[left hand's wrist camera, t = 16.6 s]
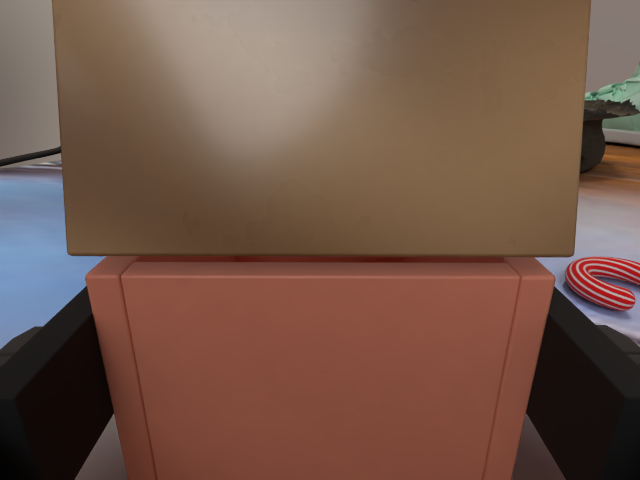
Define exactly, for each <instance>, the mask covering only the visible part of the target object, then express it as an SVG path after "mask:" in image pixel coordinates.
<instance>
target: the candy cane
mask: <svg viewBox="0 0 640 480" xmlns="http://www.w3.org/2000/svg"><path fill="white" fill-rule="evenodd" d="M595 277H605V278H613V279H619V280H623V281H627V282H630V283H633V284H636V285H639V286H640V263H638V262H634V261H630V260H626V259H620V258H613V257H585V258H581V259H578V260H575V261H573V262H572V263H571V264H569V266H568V267H567V269H566V271H565V278H566V281H567V283H568V285H569V286H570V288H571V289H572V290H574V291H575V292H576V293H577V294H579V295H580V296H582V297H583V298H585V299H587V300H589V301H591V302H593V303H596V304H598V305H601V306H604V307H607V308H610V309H614V310H618V311H626V310H629V309H631V308H632V307H633V306H634V304H635V296H634V294H633V293H632V292H631V291H630V290H629V289H627V288H624V287H620V286H616V285H613V284H609V283H607V282H604V281H601V280H599V279H597V278H595Z"/></svg>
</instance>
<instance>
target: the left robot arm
mask: <svg viewBox="0 0 640 480" xmlns="http://www.w3.org/2000/svg"><path fill="white" fill-rule="evenodd" d="M58 153H61V146H60V147H58V148H55V149H50V150H45V151H40V152H36V153H31V154H25V155H21V156H15V157H11V158H6V159H2V160H0V166H5V165H9V164H13V163H18V162H22V161H26V160H31V159H36V158H41V157H46V156H50V155H54V154H58ZM526 413H527V415H528V416H529V418H530V420H531V421H532V423H533V425H534V426H535V428H536V430H537V431H538V433H539V435H540V437H541V438H542V440H543V442H544V443H545V445H546V447H547V448H548V450H549V452H550V453H551V455H552V457H553V458H554V460H555V462H556V463H557V465H558V467H559V468H560V470H561V472H562V473H563V475H564V477H565V479H566V480H640V347H639V346H638V345H637V344H635V343H634V342H633V341H632V340H631V339H630V338H629V337H627V336H625V335H623V334H621V333H619V332H618V331H616V330H614V329H612V328H610V327H608V326H606V325H595V324H594V323H593V322H592V321H591V320H590V319H589V318H587V317H586V316H585V315H584V314H583V313H582V312H581V311H580V310H579V309H578V308H577V307H576V306H575V305H574V304H573V303H572V302H570V301H569V300H568V299H567V298H566V297H565V296H564V295H563V294H562V293H561V292H560V291H559V290H558V289H557V288H556V287H554V289H553V293H552V298H551V302H550V307H549V311H548V315H547V320H546V325H545V329H544V334H543V338H542V343H541V347H540V352H539V356H538V361H537V365H536V370H535V374H534V379H533V383H532V388H531V392H530V397H529V401H528V406H527V410H526ZM113 414H114V410H113V406H112V401H111V396H110V392H109V387H108V382H107V378H106V373H105V368H104V364H103V359H102V354H101V350H100V345H99V340H98V336H97V331H96V326H95V322H94V317H93V312H92V308H91V303H90V298H89V294H88V289H87V286H86V287H85V288H84V289H83V290H82V291H81V292H80V293H79V294H77V295H76V296H75V297H74V298H73V299H72V300H71V301H70V302H69V303H68V304H67V305H66V306H65V307H64V308H63V309H62V310H60V311H59V312H58V313H57V314H56V315H55V316H54V317H53V318H52V319H51V320H50V321H49V322H48V323H47V324H46V325H44V326H43V327H33V328H32V329H30V330H28V331H26V332H24V333H22V334H21V335H19V336H17V337H15V338H13V339H12V340H11V341H10V342H8V343H7V344H6V345H5V346H4V347H3V348H2V349H0V480H74V479H75V478H76V476H77V474H78V473H79V471H80V469H81V468H82V466H83V464H84V462H85V461H86V459H87V457H88V456H89V454H90V452H91V451H92V449H93V447H94V446H95V444H96V442H97V441H98V439H99V437H100V436H101V434H102V432H103V431H104V429H105V427H106V425H107V424H108V422H109V420H110V419H111V417H112V415H113Z"/></svg>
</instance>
